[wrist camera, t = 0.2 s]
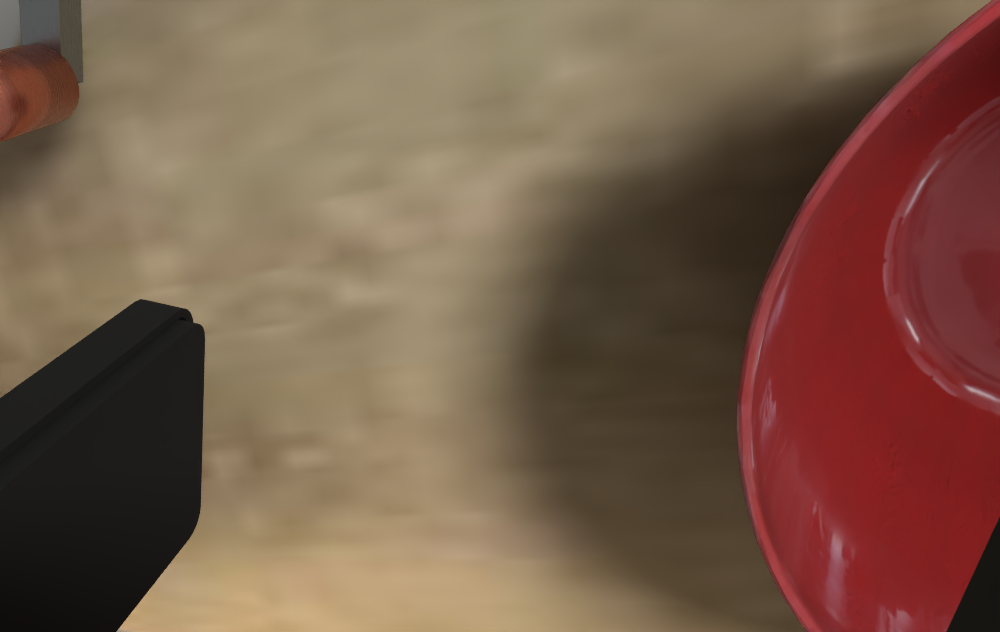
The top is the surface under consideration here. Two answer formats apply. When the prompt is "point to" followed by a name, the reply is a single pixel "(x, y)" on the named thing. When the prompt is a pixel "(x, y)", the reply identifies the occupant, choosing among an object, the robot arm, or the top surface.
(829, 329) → the mixing bowl
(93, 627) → the robot arm
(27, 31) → the lever
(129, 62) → the top surface
